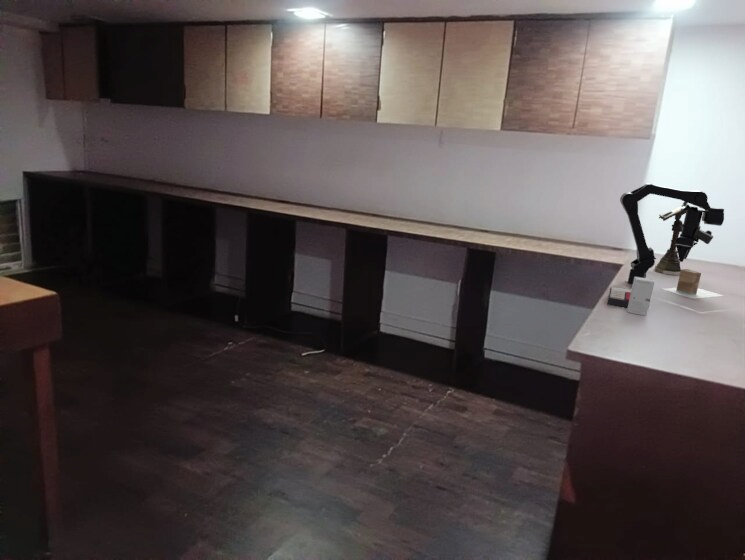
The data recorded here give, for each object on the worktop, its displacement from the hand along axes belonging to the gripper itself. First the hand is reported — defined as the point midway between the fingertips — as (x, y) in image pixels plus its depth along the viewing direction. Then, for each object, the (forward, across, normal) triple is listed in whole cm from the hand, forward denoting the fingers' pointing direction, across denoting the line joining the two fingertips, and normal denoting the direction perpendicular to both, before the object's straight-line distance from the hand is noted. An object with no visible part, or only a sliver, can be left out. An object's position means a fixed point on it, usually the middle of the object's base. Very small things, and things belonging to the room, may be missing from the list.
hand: (682, 260), depth 232 cm
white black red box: (+14, -41, +11) cm, 45 cm away
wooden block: (+12, -4, -4) cm, 13 cm away
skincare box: (+13, -51, +5) cm, 53 cm away
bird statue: (+13, +36, +11) cm, 40 cm away
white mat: (+13, 0, -6) cm, 14 cm away
